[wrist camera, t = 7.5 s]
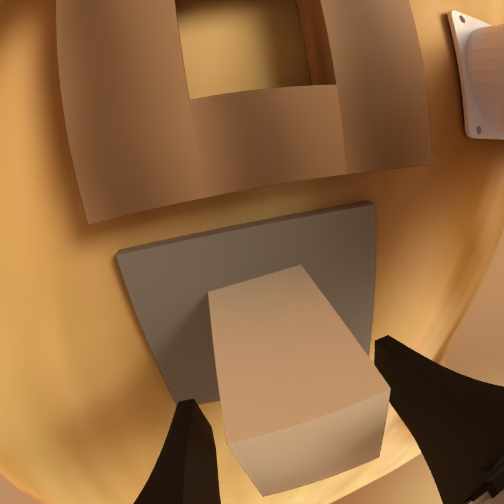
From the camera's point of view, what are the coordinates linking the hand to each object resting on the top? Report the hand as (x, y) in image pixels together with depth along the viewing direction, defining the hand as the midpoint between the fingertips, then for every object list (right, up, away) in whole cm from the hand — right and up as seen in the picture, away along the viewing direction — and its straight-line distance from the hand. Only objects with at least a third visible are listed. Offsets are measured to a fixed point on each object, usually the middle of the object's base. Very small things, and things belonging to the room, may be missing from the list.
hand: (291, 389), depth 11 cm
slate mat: (-1, +2, +5) cm, 5 cm away
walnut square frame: (-2, +14, 0) cm, 14 cm away
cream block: (-1, +2, +4) cm, 5 cm away
